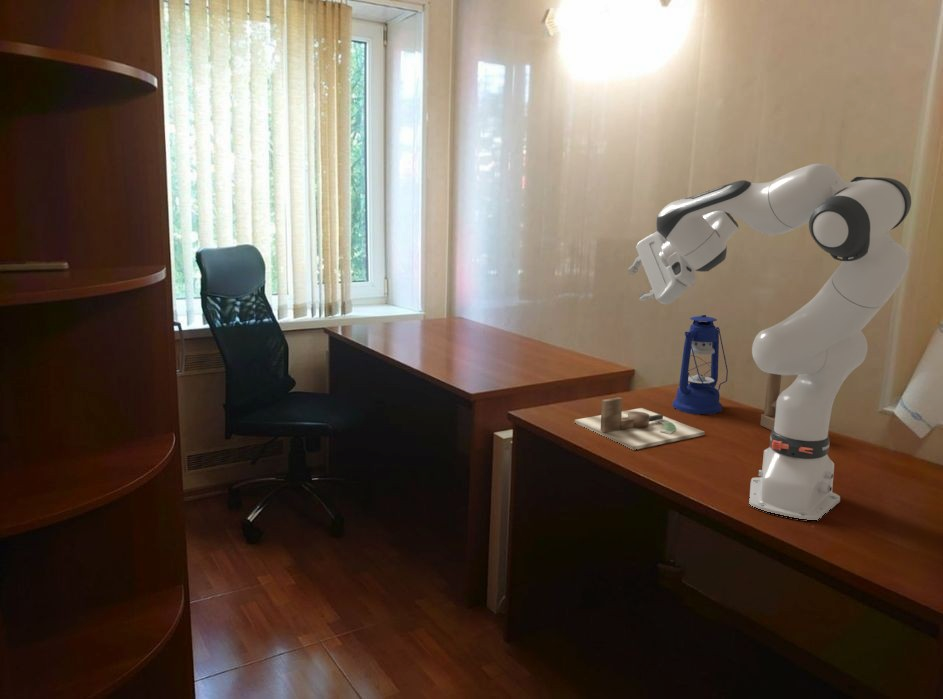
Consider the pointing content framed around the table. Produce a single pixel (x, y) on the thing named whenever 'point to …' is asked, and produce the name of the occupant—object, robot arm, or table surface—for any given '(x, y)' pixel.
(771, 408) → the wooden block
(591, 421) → the tuner board
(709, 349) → the lantern
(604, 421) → the brown wooden long piece
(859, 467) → the table surface
